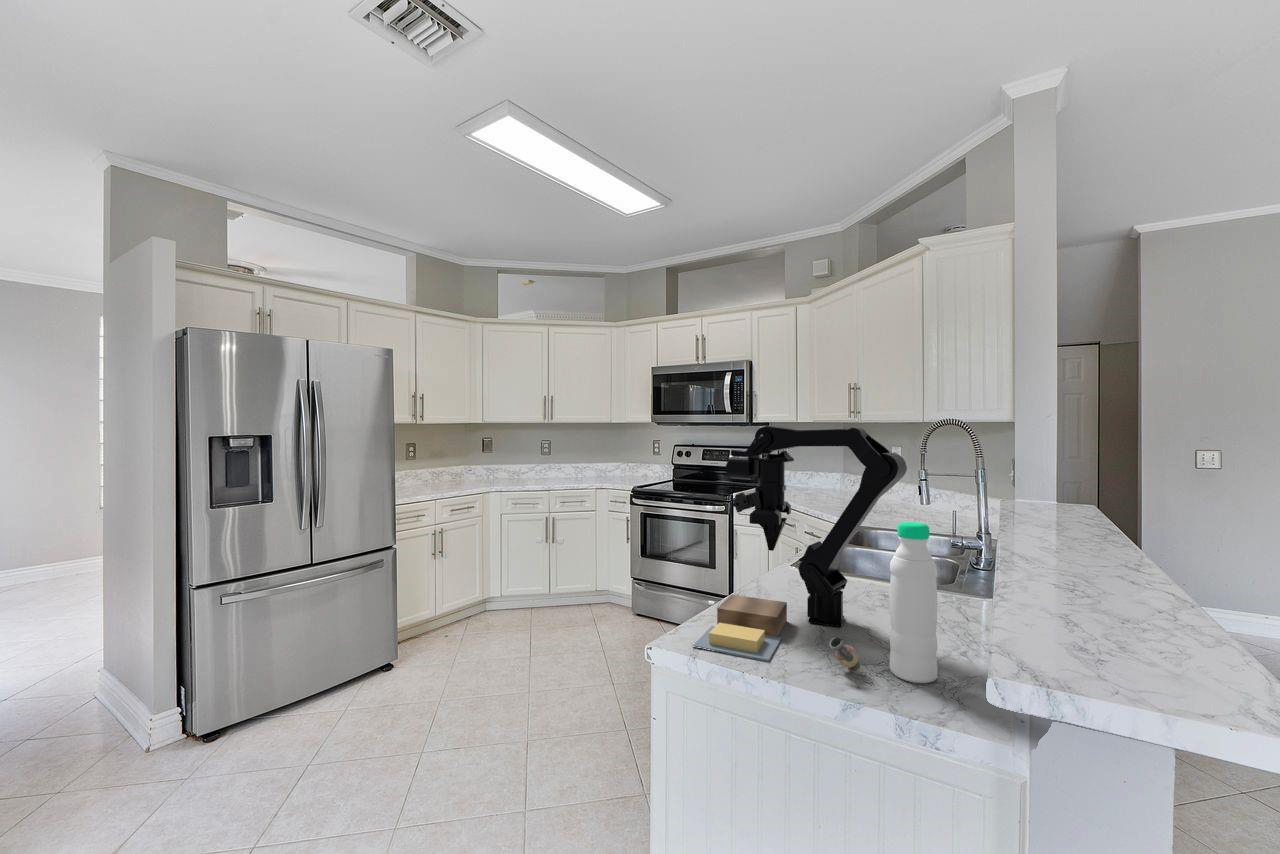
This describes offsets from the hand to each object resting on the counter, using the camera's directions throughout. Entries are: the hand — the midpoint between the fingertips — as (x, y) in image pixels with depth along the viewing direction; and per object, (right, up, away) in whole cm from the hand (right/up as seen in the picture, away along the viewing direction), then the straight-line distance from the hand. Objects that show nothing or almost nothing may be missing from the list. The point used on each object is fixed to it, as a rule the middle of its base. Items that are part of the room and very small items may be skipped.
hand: (771, 550), depth 122 cm
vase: (+5, -13, -32) cm, 35 cm away
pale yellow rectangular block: (-11, -11, -21) cm, 26 cm away
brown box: (-6, -13, -10) cm, 18 cm away
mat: (-11, -13, -20) cm, 27 cm away
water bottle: (+15, -13, -33) cm, 39 cm away
